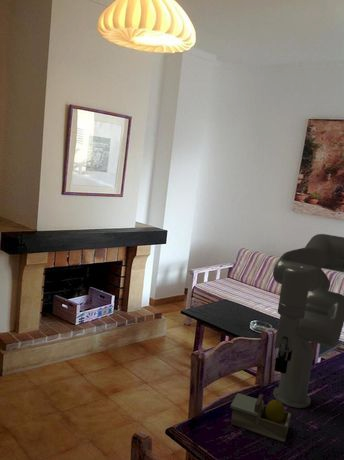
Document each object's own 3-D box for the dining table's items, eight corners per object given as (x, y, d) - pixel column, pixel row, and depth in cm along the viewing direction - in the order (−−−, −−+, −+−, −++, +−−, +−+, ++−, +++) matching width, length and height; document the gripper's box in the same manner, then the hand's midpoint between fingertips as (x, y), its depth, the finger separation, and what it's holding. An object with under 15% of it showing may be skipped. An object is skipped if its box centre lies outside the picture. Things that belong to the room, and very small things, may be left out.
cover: (237, 395, 133) (238, 385, 132) (263, 403, 129) (264, 393, 129) (230, 407, 125) (231, 397, 124) (257, 416, 121) (259, 406, 121)
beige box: (237, 409, 133) (239, 396, 132) (288, 426, 127) (291, 412, 126) (230, 423, 125) (232, 409, 124) (284, 442, 119) (287, 427, 118)
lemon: (263, 427, 123) (267, 402, 122) (263, 417, 128) (267, 393, 127) (282, 432, 121) (287, 406, 121) (281, 421, 127) (285, 397, 126)
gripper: (282, 300, 129) (274, 352, 131) (273, 314, 113) (264, 373, 116) (307, 305, 126) (299, 358, 129) (301, 321, 111) (291, 381, 113)
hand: (282, 365), depth 122 cm, fingers open, 9 cm apart
